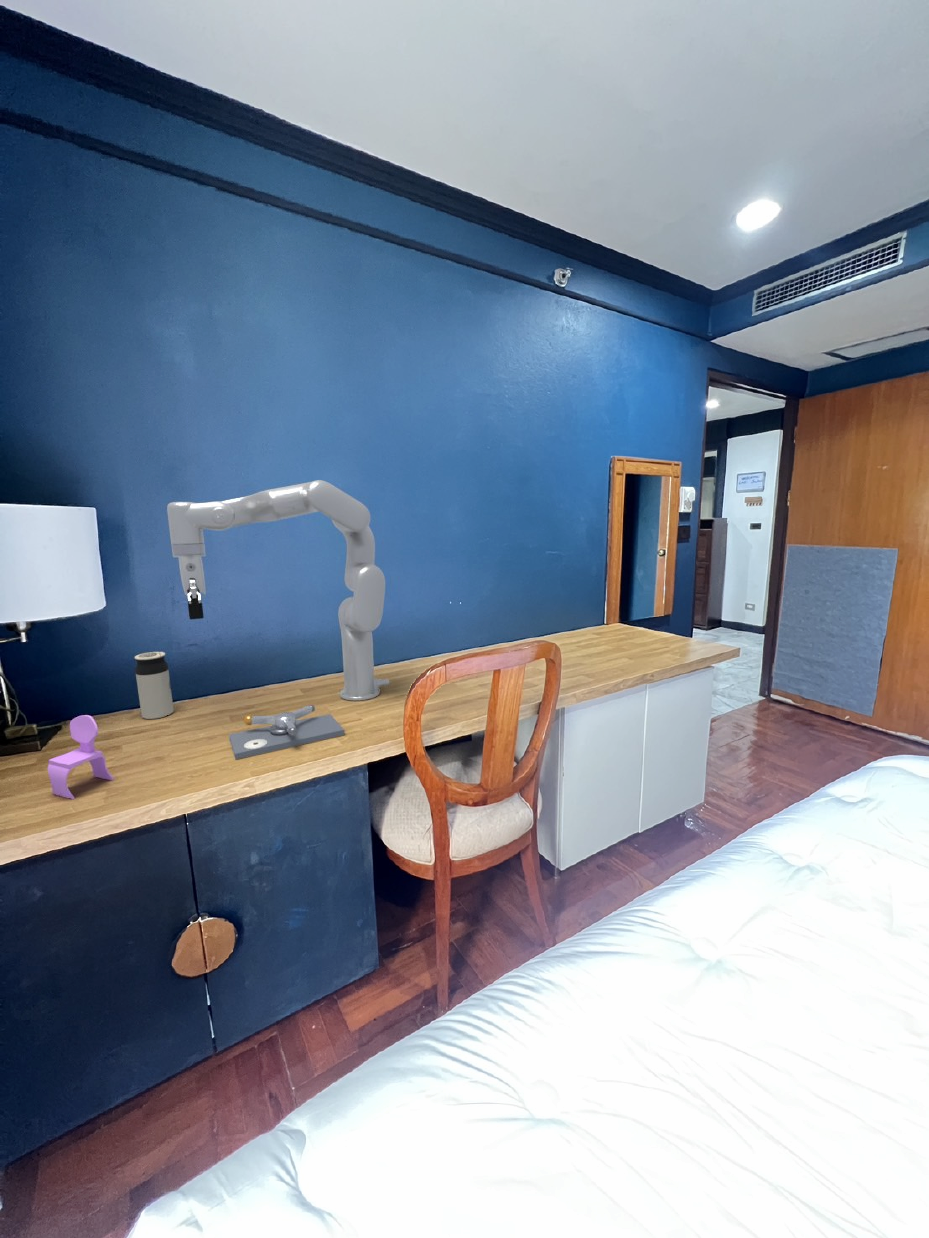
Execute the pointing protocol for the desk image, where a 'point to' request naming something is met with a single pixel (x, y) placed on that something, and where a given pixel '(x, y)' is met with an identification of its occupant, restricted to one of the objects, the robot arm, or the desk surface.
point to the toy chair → (78, 756)
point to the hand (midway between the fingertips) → (196, 615)
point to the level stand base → (284, 736)
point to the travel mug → (153, 685)
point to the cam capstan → (281, 720)
